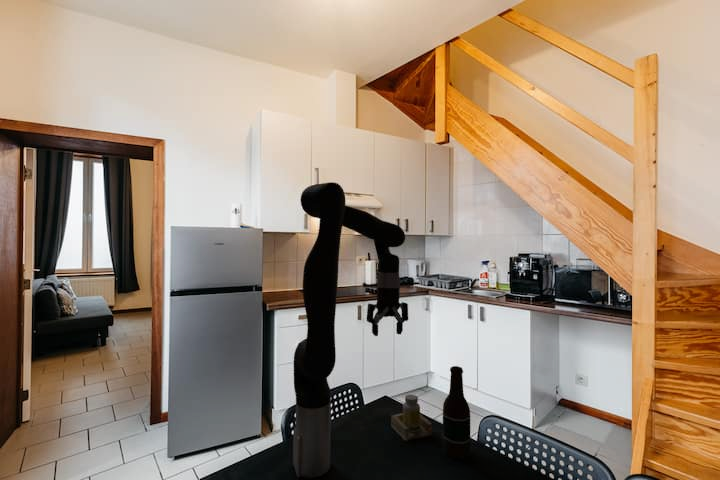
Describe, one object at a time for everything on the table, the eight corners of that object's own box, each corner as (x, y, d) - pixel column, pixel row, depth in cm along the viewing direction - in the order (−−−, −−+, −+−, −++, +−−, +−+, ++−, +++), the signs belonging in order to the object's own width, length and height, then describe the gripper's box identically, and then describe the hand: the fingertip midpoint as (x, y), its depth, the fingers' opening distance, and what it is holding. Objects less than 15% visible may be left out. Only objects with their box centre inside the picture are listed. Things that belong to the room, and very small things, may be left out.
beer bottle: (439, 455, 98) (439, 369, 99) (445, 441, 105) (446, 361, 106) (467, 463, 95) (467, 374, 95) (472, 449, 101) (473, 365, 102)
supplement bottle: (422, 426, 112) (422, 396, 112) (415, 434, 107) (416, 402, 107) (406, 422, 115) (407, 392, 115) (399, 429, 110) (400, 398, 110)
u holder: (405, 440, 105) (405, 429, 105) (391, 426, 114) (391, 415, 114) (431, 435, 109) (432, 423, 109) (416, 421, 118) (416, 410, 118)
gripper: (373, 287, 110) (372, 339, 110) (412, 286, 116) (411, 335, 115) (364, 285, 117) (363, 333, 117) (401, 284, 123) (401, 330, 122)
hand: (387, 334), depth 116 cm, fingers open, 8 cm apart
